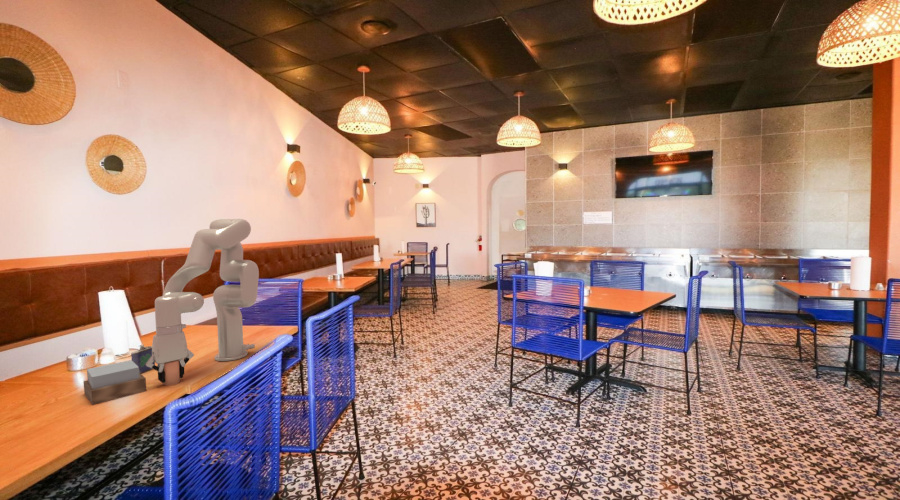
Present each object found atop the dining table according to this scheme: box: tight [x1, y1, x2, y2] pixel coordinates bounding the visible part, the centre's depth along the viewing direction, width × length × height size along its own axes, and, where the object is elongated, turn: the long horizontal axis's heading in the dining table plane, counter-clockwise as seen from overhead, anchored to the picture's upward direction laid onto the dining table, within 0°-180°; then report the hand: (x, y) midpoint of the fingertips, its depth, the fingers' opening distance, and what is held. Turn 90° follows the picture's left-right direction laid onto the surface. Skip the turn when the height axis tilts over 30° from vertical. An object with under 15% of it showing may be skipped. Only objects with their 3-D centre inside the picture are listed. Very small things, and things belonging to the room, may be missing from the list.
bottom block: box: [83, 373, 147, 406], centre depth 135 cm, size 14×14×5 cm
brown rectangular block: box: [162, 360, 181, 387], centre depth 143 cm, size 5×5×8 cm
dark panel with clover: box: [130, 344, 156, 375], centre depth 155 cm, size 9×3×11 cm, turn 172°
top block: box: [86, 359, 139, 389], centre depth 135 cm, size 12×12×4 cm
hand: (171, 378), depth 143 cm, fingers closed on brown rectangular block, 5 cm apart
